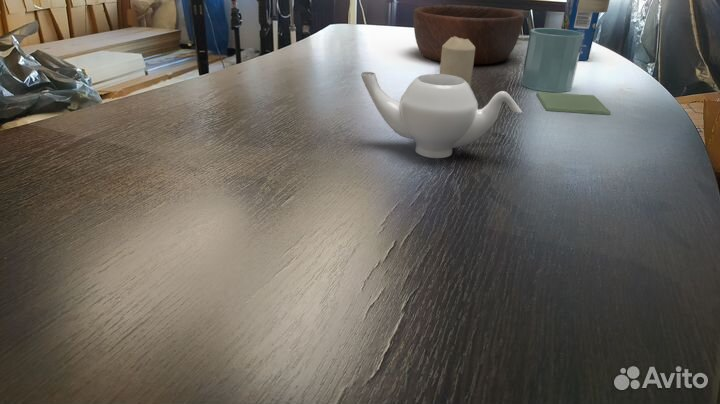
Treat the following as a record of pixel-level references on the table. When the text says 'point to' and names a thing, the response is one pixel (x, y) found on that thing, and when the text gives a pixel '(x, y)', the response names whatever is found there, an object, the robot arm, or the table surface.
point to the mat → (572, 103)
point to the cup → (551, 59)
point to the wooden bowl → (468, 30)
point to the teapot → (437, 112)
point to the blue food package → (580, 25)
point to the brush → (593, 6)
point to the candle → (458, 58)
